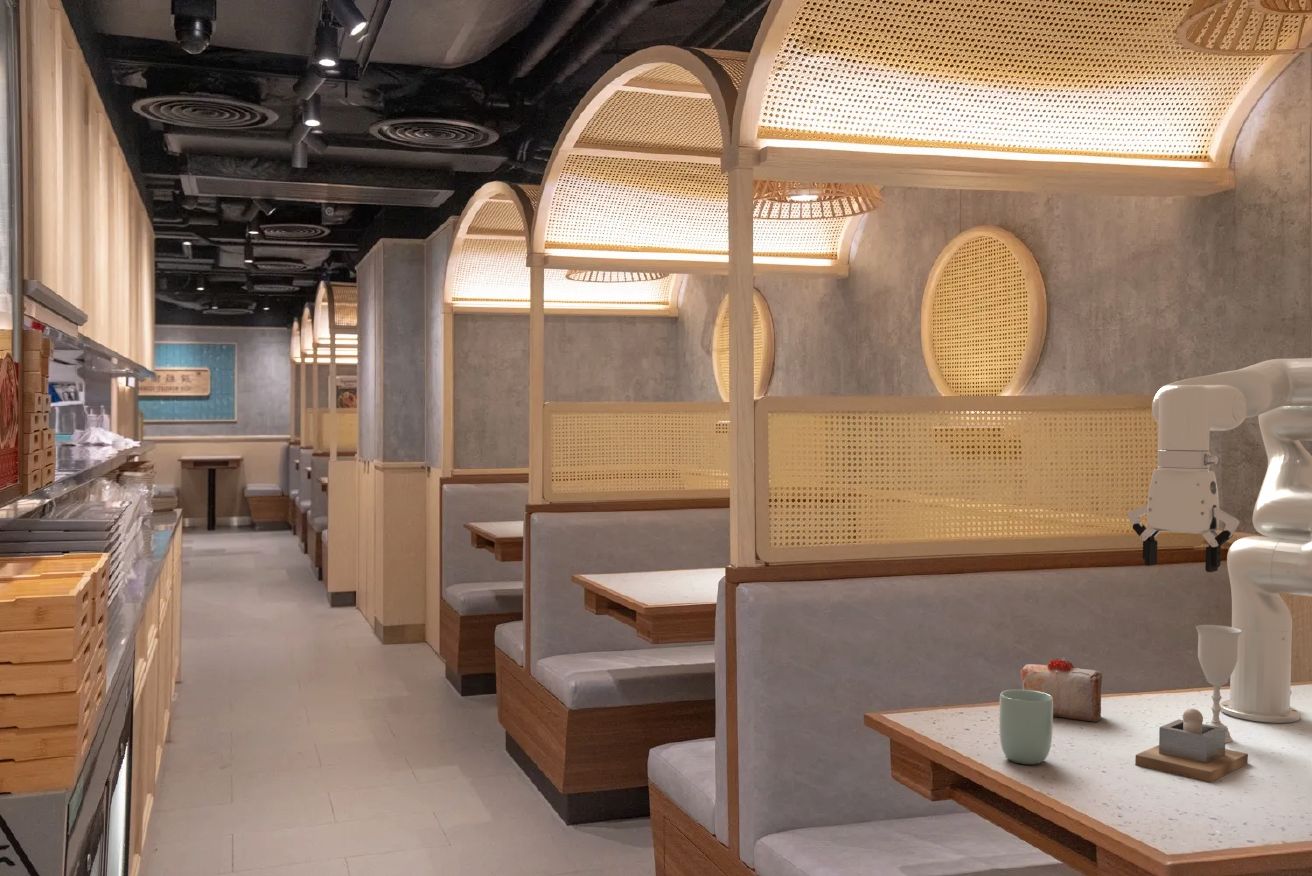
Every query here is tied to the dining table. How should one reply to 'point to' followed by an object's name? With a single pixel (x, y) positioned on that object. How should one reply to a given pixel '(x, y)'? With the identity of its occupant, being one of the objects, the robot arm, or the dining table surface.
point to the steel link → (1192, 742)
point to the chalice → (1217, 662)
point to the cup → (1026, 725)
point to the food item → (1066, 688)
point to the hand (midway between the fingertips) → (1180, 568)
